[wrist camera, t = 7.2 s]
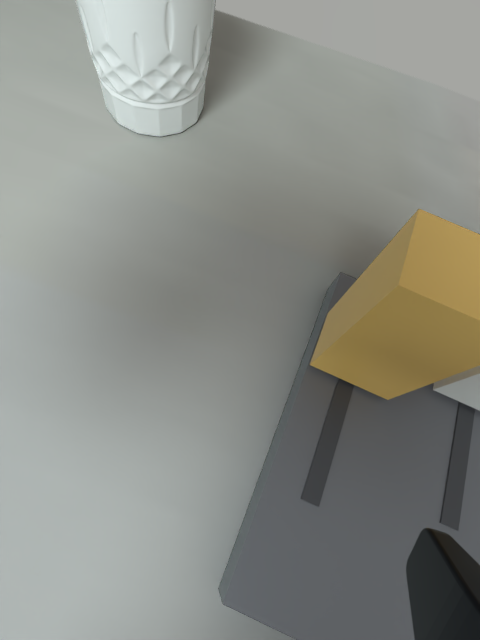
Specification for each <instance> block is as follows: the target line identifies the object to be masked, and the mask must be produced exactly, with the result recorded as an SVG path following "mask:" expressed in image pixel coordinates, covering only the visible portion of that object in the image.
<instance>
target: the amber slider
mask: <svg viewBox="0 0 480 640" xmlns="http://www.w3.org/2000/svg"><path fill="white" fill-rule="evenodd" d="M310 365H311V366H313V367H315V368H318V369H320V370H322V371H324V372H327V373H329V374H331V375H333V376H335V377H338V378H340V379H342V380H344V381H347V382H349V383H351V384H353V385H355V386H358V387H360V388H362V389H364V390H367V391H369V392H371V393H373V394H376V395H378V396H380V397H382V398H384V399H387V400H389V399H392V398H394V397H397V396H400V395H402V394H405V393H408V392H410V391H413V390H416V389H418V388H421V387H424V386H426V385H429V384H432V383H434V382H437V381H440V380H442V379H445V378H448V377H450V376H453V375H456V374H458V373H461V372H464V371H466V370H469V369H471V368H474V367H477V366H479V365H480V234H477V233H475V232H473V231H470V230H468V229H466V228H463V227H461V226H459V225H456V224H454V223H452V222H449V221H447V220H445V219H442V218H440V217H438V216H435V215H433V214H431V213H428V212H426V211H423V210H421V209H418V210H417V211H416V213H415V214H414V215H413V216H412V217H411V218H410V219H409V221H408V222H407V223H406V224H405V225H404V226H403V227H402V229H401V230H400V231H399V232H398V233H397V234H396V236H395V237H394V238H393V239H392V240H391V241H390V242H389V244H388V245H387V246H386V247H385V248H384V249H383V250H382V252H381V253H380V254H379V255H378V256H377V257H376V258H375V260H374V261H373V262H372V263H371V264H370V265H369V266H368V268H367V269H366V270H365V271H364V272H363V273H362V275H361V276H360V277H359V278H358V279H357V280H356V281H355V283H354V284H353V285H352V286H351V287H350V288H349V289H348V291H347V292H346V293H345V294H344V295H343V296H342V297H341V299H340V300H339V301H338V302H337V303H336V304H335V305H334V307H333V308H332V309H331V310H330V311H329V312H328V314H327V317H326V320H325V323H324V326H323V328H322V331H321V334H320V337H319V340H318V342H317V345H316V348H315V351H314V354H313V357H312V359H311V362H310Z"/></svg>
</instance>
